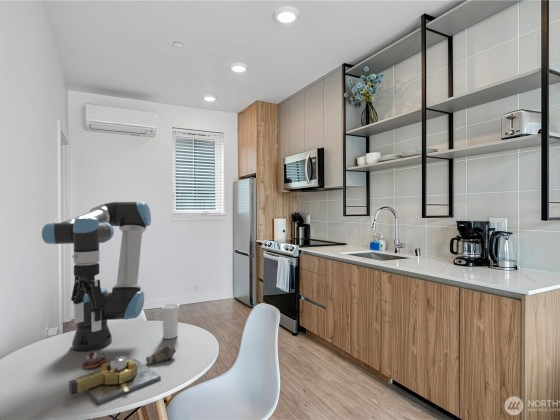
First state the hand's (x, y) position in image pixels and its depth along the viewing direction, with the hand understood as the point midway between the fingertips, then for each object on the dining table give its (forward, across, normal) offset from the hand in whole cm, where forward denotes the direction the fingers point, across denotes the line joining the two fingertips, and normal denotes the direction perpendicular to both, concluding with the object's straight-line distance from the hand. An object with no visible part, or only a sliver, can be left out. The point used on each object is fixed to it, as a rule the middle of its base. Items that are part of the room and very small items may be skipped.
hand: (87, 326), depth 114 cm
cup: (+19, -13, +41) cm, 47 cm away
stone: (+20, +5, +25) cm, 32 cm away
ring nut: (+18, +6, +3) cm, 19 cm away
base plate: (+19, +7, +7) cm, 22 cm away
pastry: (+20, -13, +7) cm, 24 cm away
